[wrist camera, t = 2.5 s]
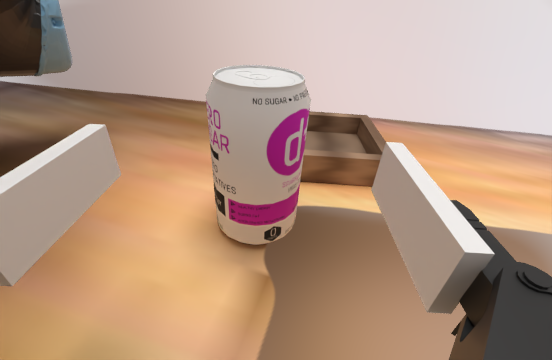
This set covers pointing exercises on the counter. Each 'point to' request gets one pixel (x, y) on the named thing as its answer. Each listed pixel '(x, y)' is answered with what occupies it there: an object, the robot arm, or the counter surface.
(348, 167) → the tray
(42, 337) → the counter surface
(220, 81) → the supplement can
